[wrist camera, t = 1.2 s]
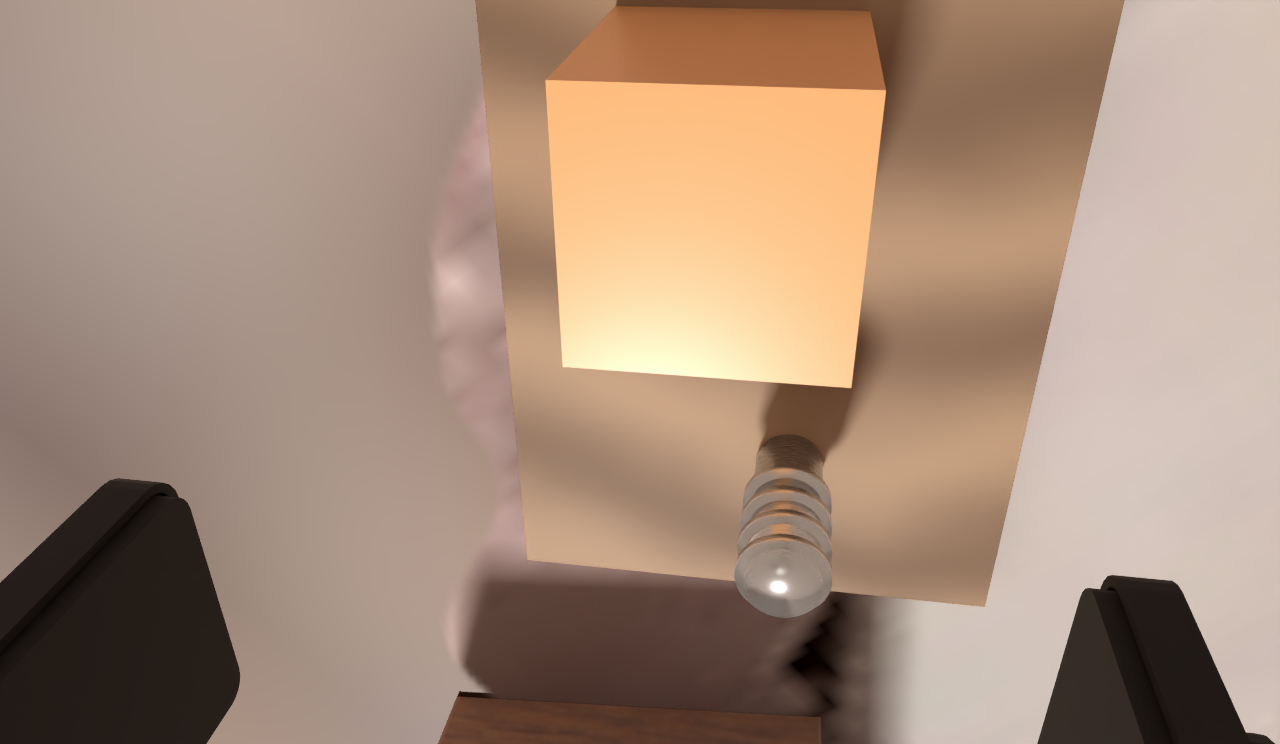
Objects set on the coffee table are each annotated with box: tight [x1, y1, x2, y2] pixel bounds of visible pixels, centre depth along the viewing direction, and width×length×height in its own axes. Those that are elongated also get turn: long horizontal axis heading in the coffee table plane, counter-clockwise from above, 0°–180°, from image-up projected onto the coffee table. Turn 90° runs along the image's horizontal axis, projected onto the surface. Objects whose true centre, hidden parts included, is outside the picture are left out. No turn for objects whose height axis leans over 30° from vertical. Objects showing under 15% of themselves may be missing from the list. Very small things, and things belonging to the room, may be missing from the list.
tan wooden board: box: [476, 0, 1124, 607], centre depth 28 cm, size 20×15×1 cm
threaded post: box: [734, 434, 832, 618], centre depth 27 cm, size 2×2×6 cm
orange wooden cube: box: [545, 6, 886, 388], centre depth 22 cm, size 6×6×7 cm
